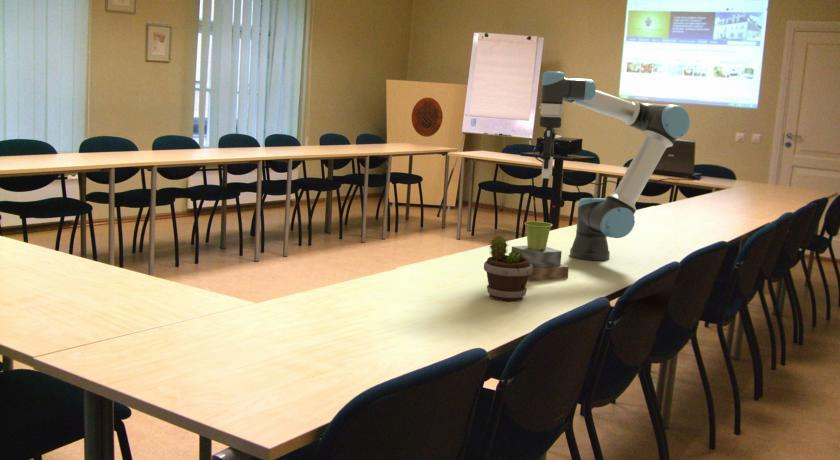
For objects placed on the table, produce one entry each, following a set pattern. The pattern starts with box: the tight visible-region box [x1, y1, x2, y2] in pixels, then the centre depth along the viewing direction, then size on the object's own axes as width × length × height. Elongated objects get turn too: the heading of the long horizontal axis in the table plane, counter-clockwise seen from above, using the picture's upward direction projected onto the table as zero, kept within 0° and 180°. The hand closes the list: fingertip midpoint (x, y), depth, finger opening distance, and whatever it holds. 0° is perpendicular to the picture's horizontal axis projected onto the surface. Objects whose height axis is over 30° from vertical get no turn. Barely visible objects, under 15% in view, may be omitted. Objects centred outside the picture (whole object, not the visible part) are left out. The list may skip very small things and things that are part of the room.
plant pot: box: [524, 221, 553, 250], centre depth 279 cm, size 9×9×9 cm
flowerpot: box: [483, 233, 533, 302], centre depth 246 cm, size 14×15×20 cm
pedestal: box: [511, 245, 570, 282], centre depth 281 cm, size 16×16×9 cm
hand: (546, 176), depth 292 cm, fingers open, 13 cm apart
